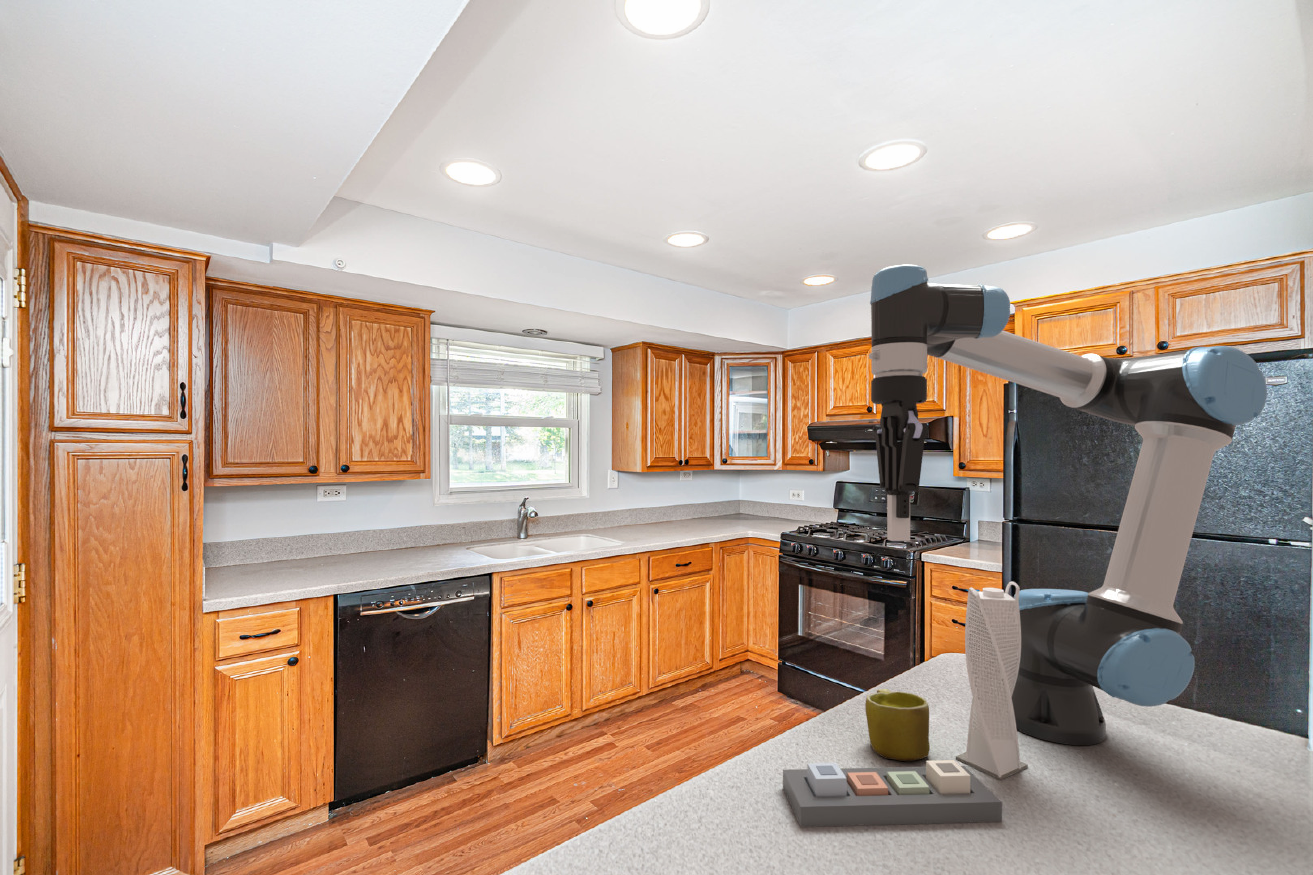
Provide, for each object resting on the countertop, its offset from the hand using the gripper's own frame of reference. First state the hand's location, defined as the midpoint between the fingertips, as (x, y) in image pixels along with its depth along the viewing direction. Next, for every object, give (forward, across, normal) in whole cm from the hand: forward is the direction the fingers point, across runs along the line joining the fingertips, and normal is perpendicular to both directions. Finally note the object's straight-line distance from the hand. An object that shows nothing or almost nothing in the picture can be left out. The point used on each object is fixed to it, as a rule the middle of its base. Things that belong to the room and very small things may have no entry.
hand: (898, 539), depth 91 cm
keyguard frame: (+34, +6, -4) cm, 35 cm away
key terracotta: (+34, +6, -7) cm, 35 cm away
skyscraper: (+35, -3, +16) cm, 38 cm away
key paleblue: (+33, +6, -12) cm, 35 cm away
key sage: (+34, +6, -1) cm, 35 cm away
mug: (+35, -10, +4) cm, 36 cm away
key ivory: (+33, +6, +4) cm, 33 cm away
